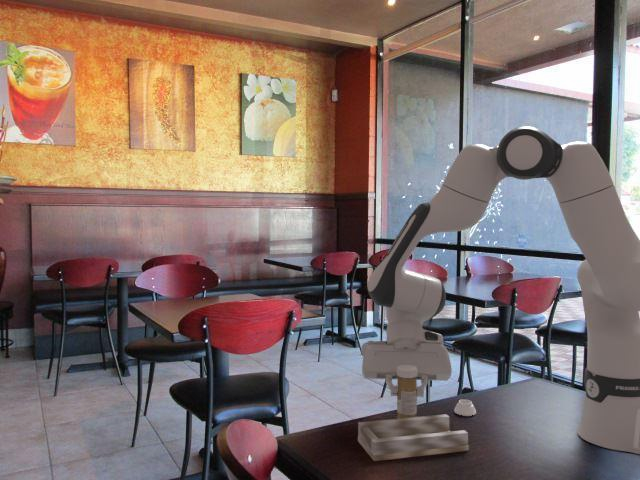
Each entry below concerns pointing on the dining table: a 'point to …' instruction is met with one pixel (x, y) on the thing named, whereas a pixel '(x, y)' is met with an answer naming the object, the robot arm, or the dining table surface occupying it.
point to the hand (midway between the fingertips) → (407, 395)
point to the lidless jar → (465, 408)
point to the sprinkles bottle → (407, 391)
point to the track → (410, 437)
